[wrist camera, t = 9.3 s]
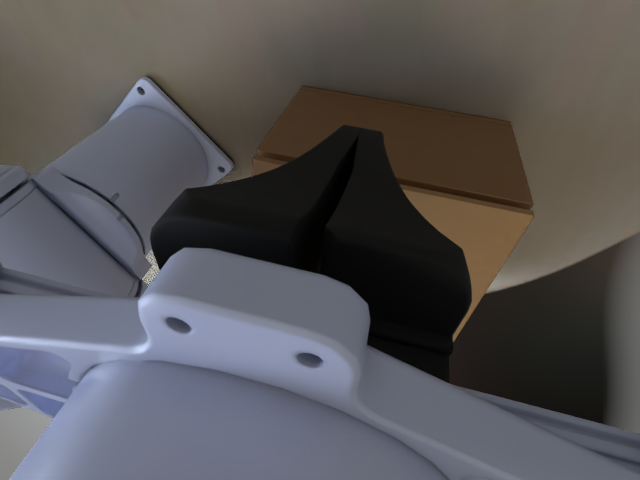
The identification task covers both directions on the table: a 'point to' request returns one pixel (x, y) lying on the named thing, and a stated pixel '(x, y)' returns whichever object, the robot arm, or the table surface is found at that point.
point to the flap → (473, 233)
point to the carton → (408, 144)
